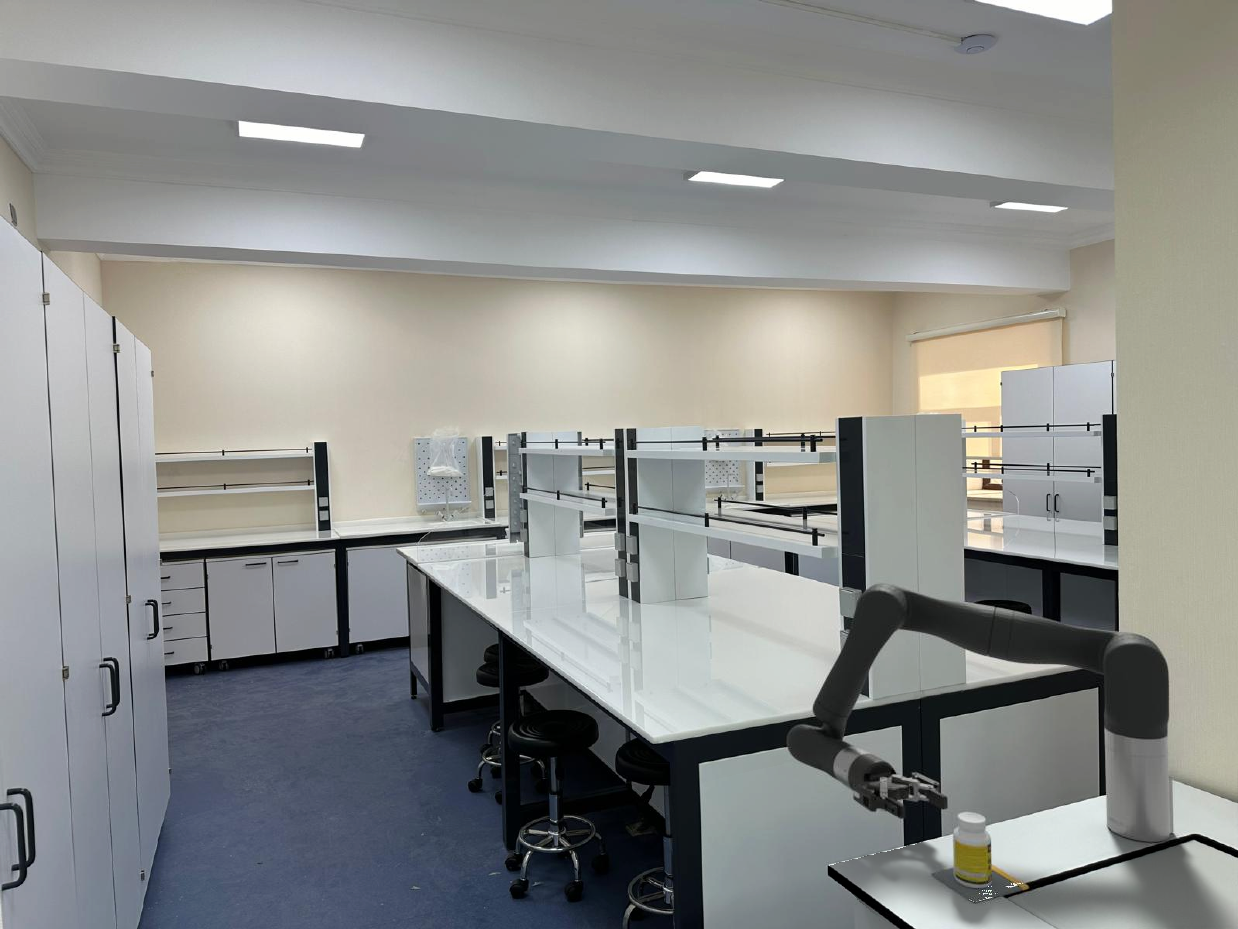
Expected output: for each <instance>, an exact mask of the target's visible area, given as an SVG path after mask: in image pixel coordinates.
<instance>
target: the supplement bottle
mask: <svg viewBox="0 0 1238 929" xmlns="http://www.w3.org/2000/svg"><path fill="white" fill-rule="evenodd" d="M986 828H987V820H986V817H985V816H983V815H982V814H979V813H978V812H973V811H971V812H970V811H964V812H960V813H958V814H957V827H955V828H954V830H953V833H952V848H953V868H954V878H955V879H956V881H957V882H959V883H960V884H962V885H964V886H967V887H971V888H986V887H988V886H990V885H991V882H992V865H993V863H992V838H991V835H990V833H989V832H988V831H987V830H986Z"/></svg>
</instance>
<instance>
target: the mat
mask: <svg viewBox="0 0 1238 929" xmlns="http://www.w3.org/2000/svg"><path fill="white" fill-rule="evenodd" d="M930 875H931V876H933V877H934V878H935V879H937V880H938V879H939V880H938V881H939V882H942V883H943V884H944V883H945V886H947V885H948V886H947V887H949V888H950V887H951V889H952V888H953V889H954V890H953V889H952V890H953V891H955V890H956V891H957V892H956V891H955V892H956V893H958V894H959V893H960V894H959V895H961V894H962V895H963V897H964V898H965V897H966V898H965V899H967V898H968V899H970V900H972V901H974V902H976V901H979V900H983V899H986V898H985V897H987V898H988V897H996V896H1000V897H1003V896H1006V895H1011V894H1014V893H1017V892H1021V891H1026V890H1028V889H1029V888H1030V887H1029V885H1028V884H1026V883H1025V882H1022V881H1021V880H1019V879H1017V878H1016V877H1014V876H1013V875H1011V874H1009V873H1008V872H1006V871H1004V870H1002V869H1001V868H999V867H997V866H995V865H994V864H992V882H991V885H990V886H989V887H986V888H971V887H967V886H964V885H962V884H960V883H959V882H957V881H956V879H955V878H954V867H951V868H945V869H942V870H939V871H935V872H931V874H930ZM1011 883H1012V885H1011ZM1013 883H1015V884H1017V883H1021V884H1017V885H1018V886H1019V887H1018V886H1016V887H1013V888H1010V887H1009V888H1008V887H1006V886H1014V885H1013ZM1022 883H1023V884H1022ZM991 886H992V887H991ZM982 890H983V891H982ZM984 890H985V891H984ZM986 890H987V892H986ZM988 890H992V891H991V892H990V891H989V892H988ZM979 893H980V894H979ZM983 893H988V894H984V895H983ZM989 893H990V894H991V893H992V895H989ZM995 893H996V894H995ZM962 895H961V896H962ZM996 898H997V897H996ZM968 899H967V900H968ZM970 900H969V901H970Z"/></svg>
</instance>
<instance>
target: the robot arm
mask: <svg viewBox="0 0 1238 929" xmlns="http://www.w3.org/2000/svg"><path fill="white" fill-rule="evenodd" d="M898 630H903V631H910V632H915V633H922V634H926V635H931V636H934V637H937V638H940V639H942V640H945V641H947V642H949V643H951V644H953V645H955V646H958V647H959V648H961V649H964V650H965V651H969V652H971V653H973V654H977V655H980V656H984V657H988V658H992V659H997V660H1001V661H1006V662H1010V663H1017V664H1024V665H1025V664H1026V665H1062V666H1068V667H1074V668H1079V669H1083V670H1087V671H1090V672H1093V673H1096V674H1100V675H1103V676H1104V713H1103V717H1104V720H1103V721H1104V723H1103V724H1104V752H1105V753H1104V755H1105V790H1106V791H1105V792H1106V793H1105V795H1106V796H1105V797H1106V802H1105V803H1106V805H1105V806H1106V807H1105V808H1106V826H1107V827H1108V829H1109V828H1110V829H1111V830H1110V829H1109V830H1110V831H1112V832H1113V833H1115V834H1117V835H1119V836H1122V837H1124V838H1127V839H1131V840H1135V841H1141V842H1149V843H1150V842H1152V843H1153V842H1154V843H1156V842H1157V843H1159V842H1164V841H1166V840H1168V839H1169V838H1170V837H1171V834H1172V833H1174V832H1175V830H1174V791H1173V790H1174V789H1173V788H1174V787H1173V777H1172V776H1171V775H1170V774H1169V773H1170V772H1169V742H1168V741H1169V736H1168V733H1169V730H1168V728H1169V726H1168V724H1169V720H1170V676H1169V666H1168V663H1167V660H1166V658H1165V657H1164V654H1163V653H1162V651H1161V649H1160V648H1159V646H1158V645H1157V644H1156V643H1155V642H1154V641H1152V640H1151V639H1149V638H1148V637H1146V636H1143V635H1141V634H1138V633H1132V632H1125V631H1117V630H1116V631H1115V630H1105V629H1099V628H1089V627H1084V626H1083V627H1081V626H1076V625H1073V624H1072V625H1071V624H1067V623H1064V622H1061V621H1057V620H1054V619H1053V620H1052V619H1051V618H1046V617H1043V616H1042V617H1041V616H1038V615H1033V614H1030V613H1029V614H1028V613H1025V612H1021V611H1017V610H1011V609H1006V608H1003V607H996V606H992V605H985V604H980V603H974V602H966V601H963V600H962V601H960V600H955V599H953V600H952V599H945V598H940V597H935V596H931V595H927V594H924V593H921V592H917V591H914V590H911V589H908V588H905V587H901V586H898V585H894V584H891V583H886V582H885V583H884V582H883V583H876V584H873V585H872V586H869V587H868V588H867V589H866V590H865V591H863V593H861V595H860V596H859V598H858V600H857V601H856V606H855V610H854V614H853V616H852V620H851V624H850V628H849V630H848V634H847V637H846V639H845V641H844V644H843V646H842V648H841V651H840V653H839V655H838V657H837V659H836V660H835V662H834V664H833V666H832V667H831V669H830V671H829V672H828V675H827V676H826V678H825V681H824V682H823V684H822V686H821V688H820V689H819V692H818V694H817V696H816V698H815V700H814V702H813V705H812V712H813V715H814V716H815V717H816V719H818V720H819V721H820V722H822V723H823V725H822V726H821V727H818V726H813V725H810V724H809V725H808V724H797V725H795V726H793V727H792V728H790V730H789V731H788V733H787V736H786V746H787V749H788V752H789V754H790V755H791V756H792V757H793V759H794V760H796V761H798V762H800V763H801V764H804V765H806V766H809V767H811V768H813V769H817V770H819V771H822V772H824V773H826V774H827V775H828V776H830V777H831V778H833V779H835V780H837V781H838V782H839V783H841V784H842V785H843V786H844V787H846V788H847V789H849V790H850V791H852V793H853V794H852V795H853V800H854V801H855V802H856V803H857V804H859V805H861V806H862V807H863V808H865V809H867V810H868V811H869V812H872V813H875V812H877V809H879V810H880V811H881V812H888V813H890V814H892V815H893V816H894V817H897V818H899V819H900V820H902V819H905V818H906V806H905V804H903V803H901V800H906V801H910V802H915V803H916V802H917V803H918V801H925V802H928V803H930V804H931V805H934V806H935V807H937V808H939V809H941V810H947V809H948V808H949V806H948V796H947V795H946V794H943V793H941V792H940V783H939V782H938V781H936V780H934V779H931V778H929V777H927V776H925V775H923V774H921V773H918V772H916V771H915V772H911V777H909V778H908V777H906V776H904V775H900V774H898V773H897V772H896V770H895V768H894V767H893V765H891V764H890V763H889V762H888V761H886V760H884V759H882V758H881V757H878V756H876V755H874V754H872V753H871V752H868V751H867V750H866V749H865V750H864V749H862V748H859V747H856V746H855V745H853V744H851V743H849V742H847V741H844V735H845V733H846V732H845V731H846V725H847V720H848V719H849V717H850V715H851V713H852V712H853V709H854V708H855V705H856V704H857V701H858V699H859V697H860V694H861V693H862V691H863V688H864V686H865V683H866V681H867V678H868V675H869V672H870V670H871V668H872V666H873V664H874V662H875V661H876V658H877V657H878V655H879V654H880V652H881V650H882V649H883V648H884V646H885V645H886V644H887V642H888V641H889V640H890V639H891V637H892V636H893V635H894V633H895V632H897V631H898ZM911 787H912V789H913V795H912V794H911V790H910V788H911ZM921 793H923V794H921Z"/></svg>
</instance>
